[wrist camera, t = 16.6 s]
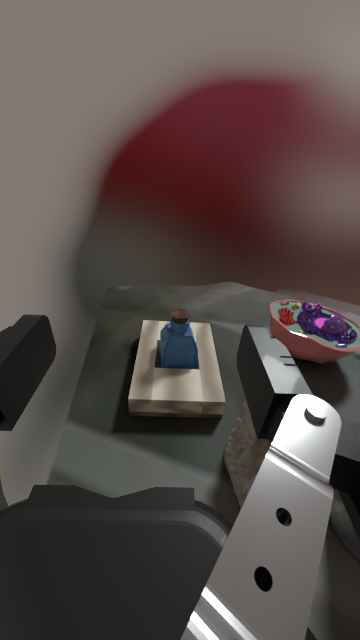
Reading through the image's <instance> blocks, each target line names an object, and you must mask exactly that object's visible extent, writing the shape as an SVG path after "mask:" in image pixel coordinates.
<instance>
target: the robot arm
mask: <svg viewBox="0 0 360 640" xmlns="http://www.w3.org/2000/svg"><path fill="white" fill-rule="evenodd" d="M55 355H56V344H55V341H54V337H53V334H52V330H51V326H50V322H49V319H48V317H47V316H45V315H23V316H22V317H21V318H20V319H19V320H18V321H17V322H16V323H15V324H14V325H13V326H10V327H8V328H6V329H4V330H3V331H1V332H0V431H1V430H2V431H12V429H13V428H14V426H15V424H16V422H17V421H18V419H19V418H20V416H21V414H22V413H23V411H24V409H25V408H26V406H27V404H28V402H29V401H30V399H31V398H32V396H33V394H34V392H35V391H36V389H37V388H38V386H39V384H40V383H41V381H42V379H43V377H44V376H45V374H46V372H47V371H48V369H49V367H50V366H51V364H52V362H53V361H54V358H55ZM237 368H238V372H239V376H240V379H241V383H242V386H243V390H244V393H245V397H246V401H247V404H248V408H249V411H250V415H251V418H252V422H253V425H254V429H255V433H256V436H257V439H268V441H269V444H270V448H269V450H268V452H267V454H266V457H265V459H264V461H263V463H262V465H261V467H260V470H259V472H258V474H257V476H256V478H255V480H254V482H253V485H252V487H251V489H250V491H249V493H248V495H247V498H246V500H245V502H244V504H243V506H242V508H241V510H240V513H239V515H238V517H237V519H236V521H235V523H234V526H233V525H232V524H231V523H230V522H229V521H228V520H227V519H226V518H225V517H224V516H223V515H221V514H220V513H219V512H218V511H216V510H215V509H213V508H212V507H210V506H208V505H206V504H204V503H202V502H199V501H196V500H194V488H174V487H154V488H150V489H147V490H143V491H139V492H136V493H132V494H128V495H125V496H121V497H117V498H109V497H106V496H103V495H100V494H97V493H94V492H91V491H89V490H86V489H83V488H80V487H77V486H69V485H34V487H33V489H32V491H31V493H30V496H29V498H28V499H25V500H22V501H20V502H17V503H14V504H12V505H10V506H8V504H7V502H6V499H5V497H4V494H3V491H2V485H1V480H0V640H317V639H316V638H315V636H314V635H313V633H312V632H311V631H310V629H309V628H308V627H307V626H308V621H309V616H310V611H311V606H312V601H313V596H314V591H315V586H316V581H317V576H318V571H319V566H320V561H321V556H322V551H323V546H324V541H325V536H326V531H327V526H328V521H329V520H330V523H331V525H332V527H333V529H334V531H335V533H336V534H337V536H338V537H339V539H340V540H341V542H342V543H343V544H344V545H345V547H346V548H347V549H348V550H349V551H350V552H351V553H352V554H353V555H354V556H355V557H356V558H357V559H358V560H359V561H360V423H357V422H354V421H351V420H347V419H344V418H341V417H339V415H338V413H337V412H336V410H335V409H334V408H333V407H332V406H331V405H329V404H328V403H327V402H325V401H324V400H322V399H320V398H318V397H315V396H313V394H312V392H311V390H310V389H309V387H308V385H307V383H306V381H305V380H304V378H303V376H302V374H301V373H300V371H299V369H298V367H297V366H296V364H295V362H294V360H293V358H291V355H290V353H289V351H288V349H287V348H286V346H285V345H283V344H282V343H281V342H280V341H279V340H278V339H276V338H270V336H269V334H268V332H267V330H266V328H265V327H264V326H256V325H245V326H244V328H243V332H242V336H241V340H240V344H239V348H238V352H237Z"/></svg>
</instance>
